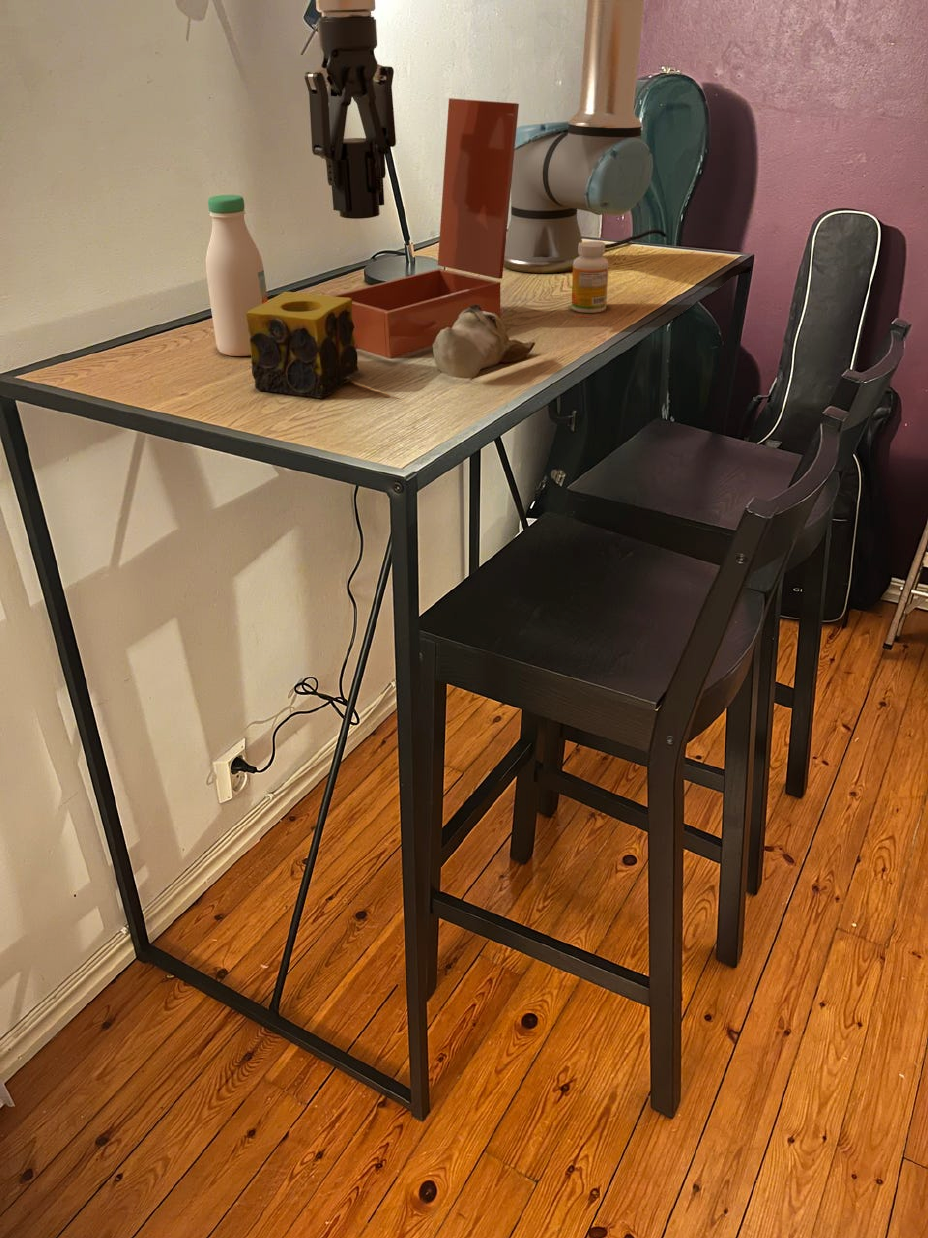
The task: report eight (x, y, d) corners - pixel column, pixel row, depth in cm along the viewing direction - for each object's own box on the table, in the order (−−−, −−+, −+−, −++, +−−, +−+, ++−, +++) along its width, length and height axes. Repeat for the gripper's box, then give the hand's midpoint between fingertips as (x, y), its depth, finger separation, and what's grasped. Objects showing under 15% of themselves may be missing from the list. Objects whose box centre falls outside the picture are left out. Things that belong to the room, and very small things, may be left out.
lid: (515, 103, 135) (519, 103, 135) (448, 97, 142) (452, 98, 143) (498, 278, 145) (502, 278, 145) (437, 265, 152) (441, 265, 153)
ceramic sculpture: (410, 308, 126) (472, 289, 137) (410, 377, 130) (470, 353, 141) (484, 321, 121) (542, 299, 132) (481, 392, 125) (538, 365, 137)
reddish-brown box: (390, 364, 136) (387, 312, 132) (331, 345, 143) (326, 296, 140) (500, 329, 149) (500, 281, 145) (440, 313, 156) (439, 268, 153)
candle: (292, 366, 136) (284, 290, 130) (360, 374, 132) (355, 296, 127) (252, 391, 127) (241, 310, 122) (323, 400, 124) (316, 318, 119)
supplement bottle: (576, 303, 160) (578, 238, 155) (609, 305, 159) (613, 240, 154) (567, 311, 156) (569, 246, 151) (601, 314, 154) (605, 248, 149)
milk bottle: (261, 358, 139) (241, 202, 128) (208, 355, 140) (184, 201, 129) (281, 341, 145) (264, 192, 134) (230, 339, 146) (209, 191, 136)
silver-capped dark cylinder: (331, 215, 143) (325, 140, 138) (361, 209, 146) (356, 136, 141) (366, 221, 138) (362, 145, 133) (397, 215, 142) (393, 140, 136)
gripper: (380, 12, 138) (390, 195, 150) (269, 16, 126) (289, 213, 139) (419, 12, 133) (425, 200, 146) (307, 17, 122) (324, 220, 134)
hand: (359, 206), depth 142 cm, fingers closed on silver-capped dark cylinder, 6 cm apart
